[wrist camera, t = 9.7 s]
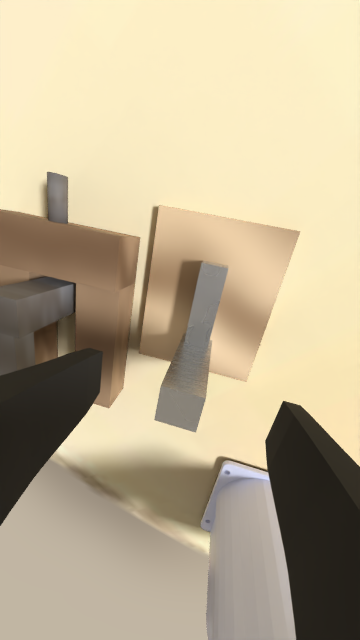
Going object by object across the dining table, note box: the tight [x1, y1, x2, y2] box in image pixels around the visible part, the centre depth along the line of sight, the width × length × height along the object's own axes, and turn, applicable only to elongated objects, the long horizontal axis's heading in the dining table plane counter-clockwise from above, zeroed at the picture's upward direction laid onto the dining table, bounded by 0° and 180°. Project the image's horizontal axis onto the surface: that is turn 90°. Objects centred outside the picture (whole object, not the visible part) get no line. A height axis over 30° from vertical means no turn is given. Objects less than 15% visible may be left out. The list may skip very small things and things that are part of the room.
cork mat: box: [139, 205, 300, 382], centre depth 14 cm, size 10×8×1 cm
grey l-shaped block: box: [155, 261, 229, 432], centre depth 12 cm, size 7×2×6 cm, turn 169°
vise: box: [0, 172, 140, 408], centre depth 14 cm, size 14×9×6 cm, turn 169°
